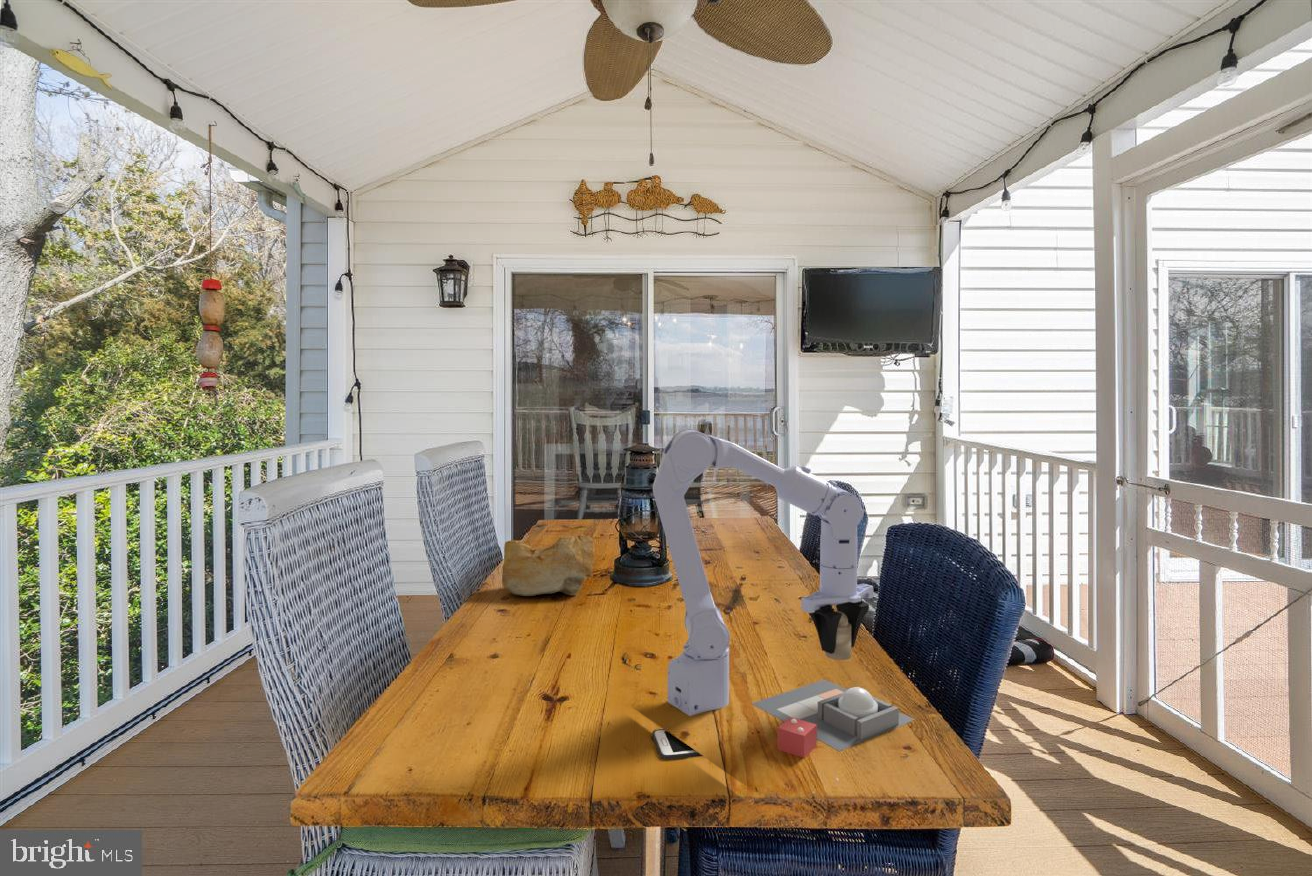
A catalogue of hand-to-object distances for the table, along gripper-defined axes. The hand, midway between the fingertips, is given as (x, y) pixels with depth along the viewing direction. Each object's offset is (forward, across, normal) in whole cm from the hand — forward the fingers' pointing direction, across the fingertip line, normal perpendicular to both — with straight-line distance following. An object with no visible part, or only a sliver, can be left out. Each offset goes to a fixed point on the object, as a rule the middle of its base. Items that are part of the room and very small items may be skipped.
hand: (837, 648), depth 112 cm
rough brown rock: (+9, -9, +86) cm, 87 cm away
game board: (+9, -5, -3) cm, 11 cm away
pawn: (+1, 0, 0) cm, 1 cm away
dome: (+8, -4, -7) cm, 11 cm away
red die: (+9, -17, -8) cm, 21 cm away
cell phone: (+10, -25, +2) cm, 27 cm away
